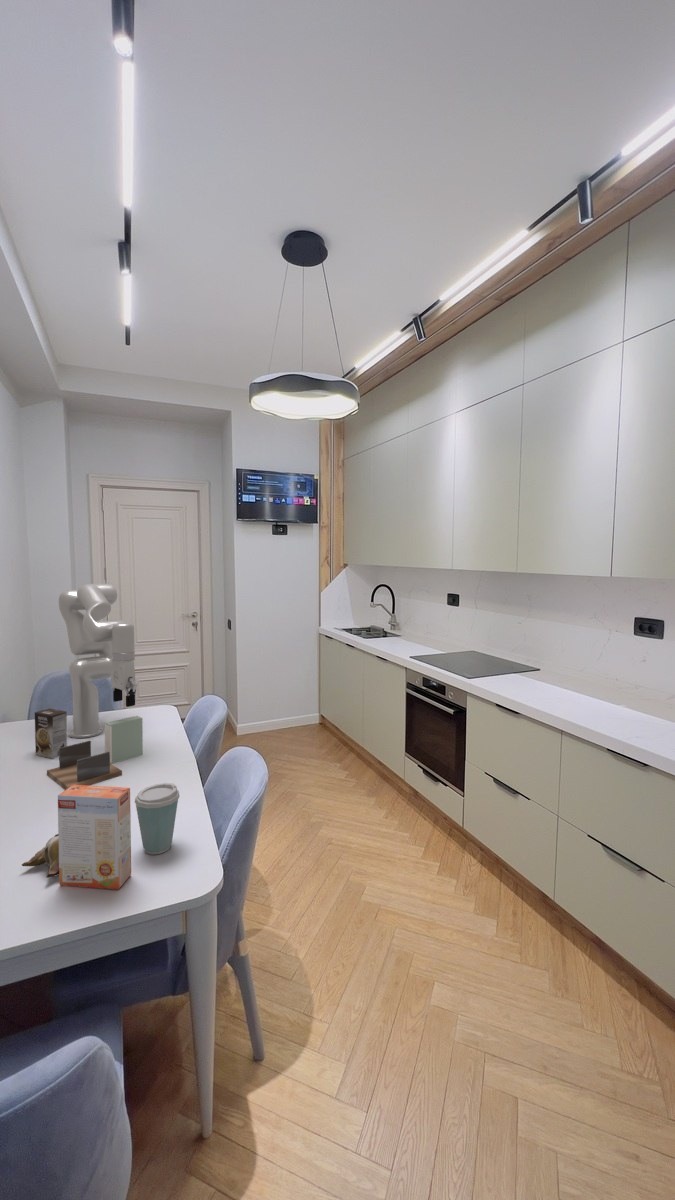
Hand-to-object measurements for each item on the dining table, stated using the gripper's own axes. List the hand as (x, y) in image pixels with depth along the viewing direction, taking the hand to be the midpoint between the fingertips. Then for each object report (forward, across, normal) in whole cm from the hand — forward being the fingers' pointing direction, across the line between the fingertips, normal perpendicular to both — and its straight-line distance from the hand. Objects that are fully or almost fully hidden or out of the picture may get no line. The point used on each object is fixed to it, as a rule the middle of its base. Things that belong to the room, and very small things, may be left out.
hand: (124, 703), depth 180 cm
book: (+20, 0, 0) cm, 20 cm away
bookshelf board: (+20, +4, -16) cm, 26 cm away
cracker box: (+21, +64, -37) cm, 76 cm away
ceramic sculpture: (+21, +52, -39) cm, 68 cm away
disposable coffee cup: (+21, +62, -21) cm, 68 cm away
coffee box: (+20, -22, -17) cm, 35 cm away
